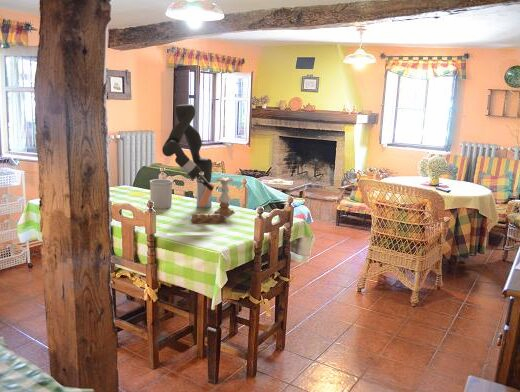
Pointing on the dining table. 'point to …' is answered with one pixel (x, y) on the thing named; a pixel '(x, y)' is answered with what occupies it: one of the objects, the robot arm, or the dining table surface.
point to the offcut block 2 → (214, 215)
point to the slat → (205, 196)
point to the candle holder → (224, 198)
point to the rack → (207, 220)
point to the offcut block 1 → (202, 215)
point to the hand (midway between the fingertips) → (211, 189)
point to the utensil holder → (161, 193)
